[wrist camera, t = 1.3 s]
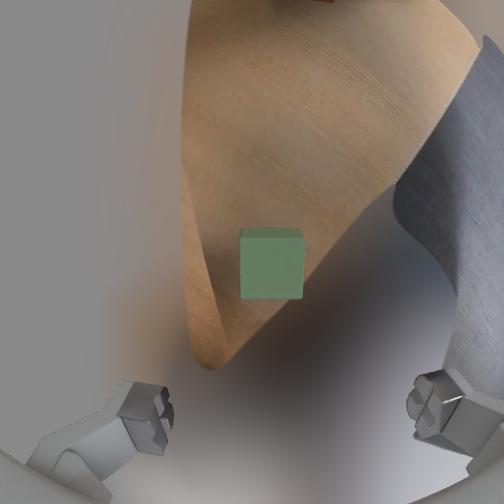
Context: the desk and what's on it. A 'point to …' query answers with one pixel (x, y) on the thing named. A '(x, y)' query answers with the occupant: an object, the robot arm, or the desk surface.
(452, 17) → the desk surface
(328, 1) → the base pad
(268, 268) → the green pad
